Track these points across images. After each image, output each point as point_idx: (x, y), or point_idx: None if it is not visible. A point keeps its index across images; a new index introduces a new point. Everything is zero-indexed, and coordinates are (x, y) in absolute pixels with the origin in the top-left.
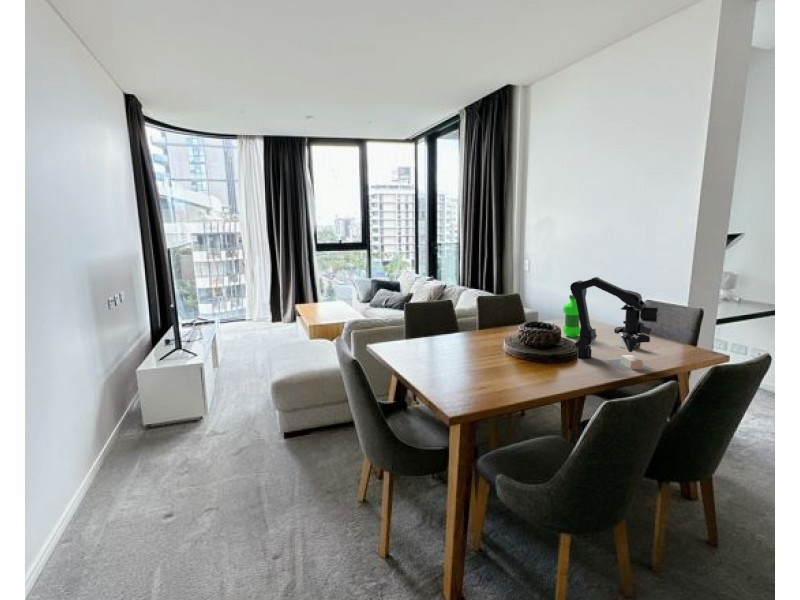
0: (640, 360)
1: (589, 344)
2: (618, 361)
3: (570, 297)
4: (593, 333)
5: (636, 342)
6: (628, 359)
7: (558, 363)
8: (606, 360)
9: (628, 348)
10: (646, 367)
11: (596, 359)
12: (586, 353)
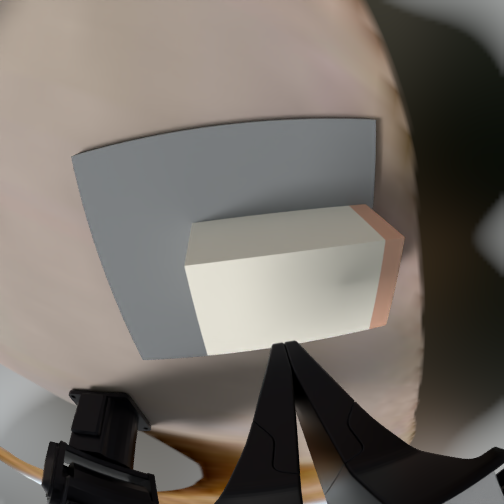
0: (393, 254)
1: (147, 491)
2: (164, 300)
3: None
4: None
5: (406, 447)
6: (335, 335)
7: (206, 463)
8: (151, 356)
9: (298, 407)
10: (338, 146)
11: (119, 375)
12: (131, 437)
